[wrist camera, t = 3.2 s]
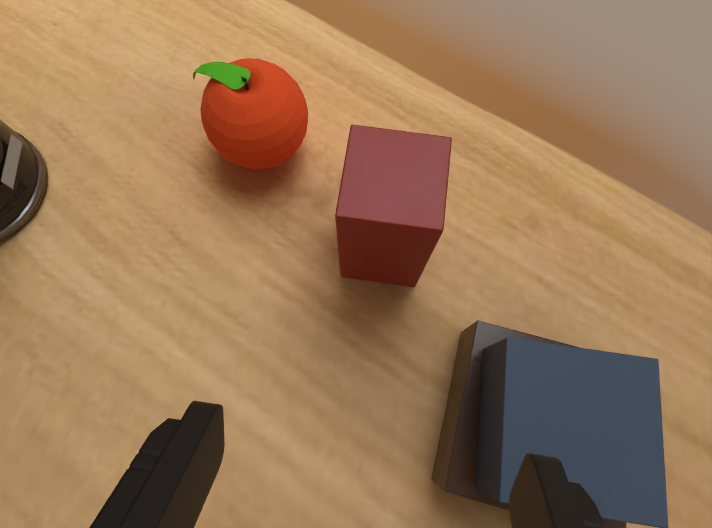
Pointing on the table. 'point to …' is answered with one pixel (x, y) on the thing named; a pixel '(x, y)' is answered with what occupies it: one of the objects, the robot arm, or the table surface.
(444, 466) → the walnut block
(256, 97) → the clementine
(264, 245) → the table surface
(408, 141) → the tall red block
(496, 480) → the slate block
